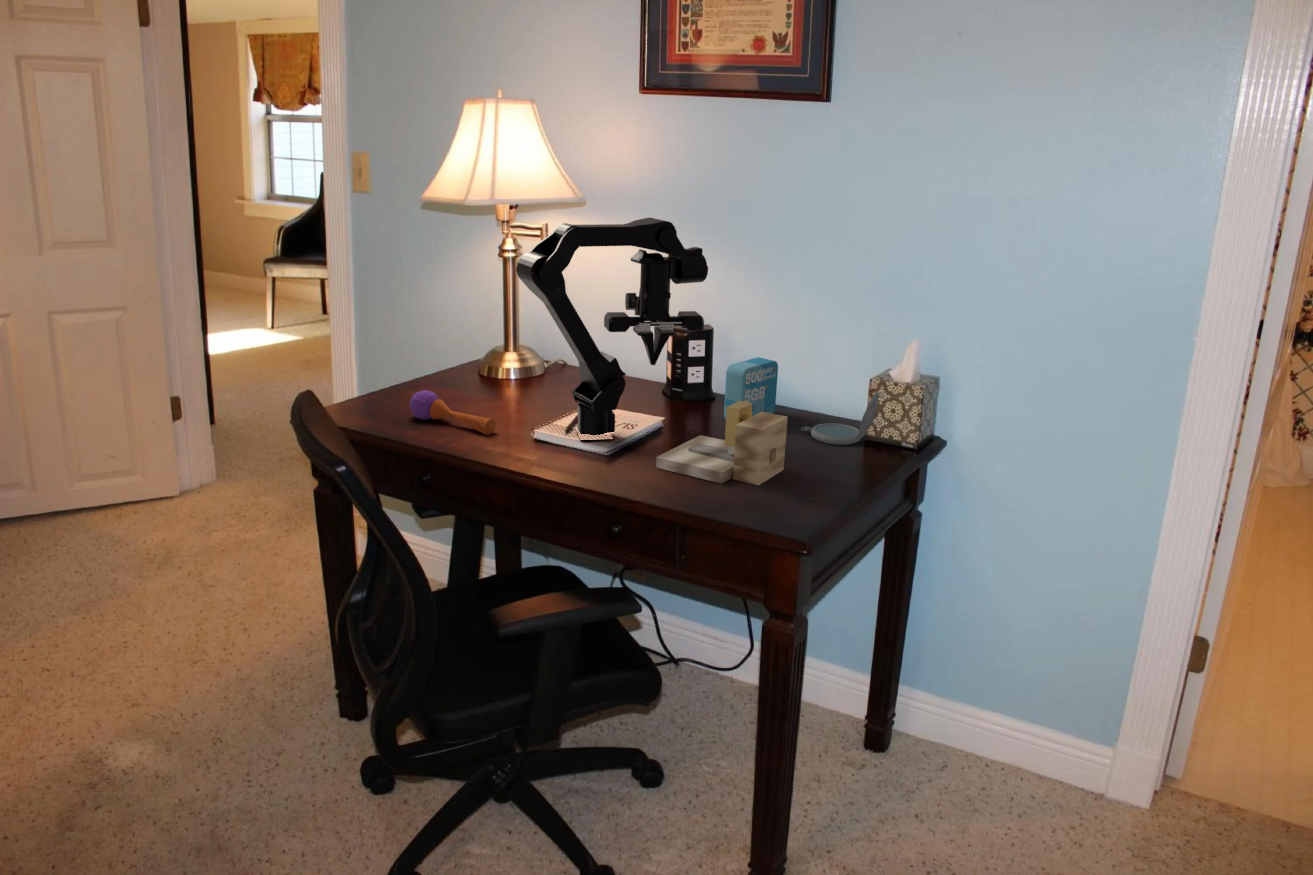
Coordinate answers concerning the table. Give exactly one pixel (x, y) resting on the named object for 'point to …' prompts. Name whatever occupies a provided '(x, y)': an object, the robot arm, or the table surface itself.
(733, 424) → the bolt
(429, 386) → the table surface
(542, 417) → the table surface
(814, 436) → the pocket watch
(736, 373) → the data package
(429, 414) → the purple maraca
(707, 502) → the table surface
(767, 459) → the door and jamb
